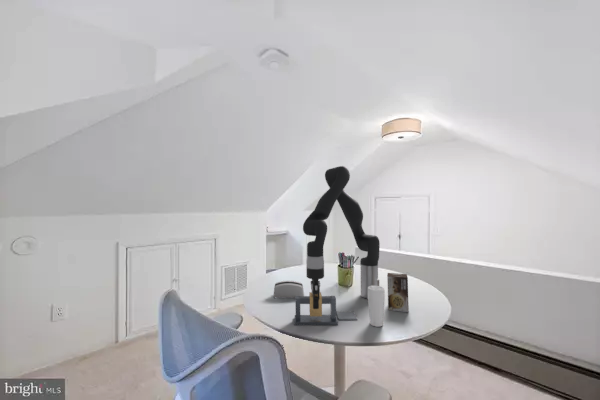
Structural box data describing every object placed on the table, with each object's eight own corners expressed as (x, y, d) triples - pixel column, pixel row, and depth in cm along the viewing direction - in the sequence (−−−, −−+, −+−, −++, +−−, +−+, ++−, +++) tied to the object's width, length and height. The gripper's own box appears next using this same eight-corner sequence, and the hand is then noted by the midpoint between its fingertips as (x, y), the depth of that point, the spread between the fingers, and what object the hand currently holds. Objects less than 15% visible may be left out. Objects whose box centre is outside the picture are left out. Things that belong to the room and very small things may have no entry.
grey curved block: (304, 294, 143) (304, 279, 140) (304, 300, 138) (304, 284, 135) (274, 294, 143) (273, 279, 140) (273, 300, 139) (272, 284, 135)
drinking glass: (365, 321, 109) (365, 285, 110) (381, 320, 110) (380, 285, 110) (371, 328, 102) (370, 290, 103) (387, 327, 103) (387, 290, 103)
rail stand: (335, 317, 113) (335, 294, 113) (337, 325, 106) (337, 300, 106) (294, 317, 113) (294, 294, 113) (294, 325, 106) (294, 300, 106)
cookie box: (407, 307, 124) (407, 273, 124) (408, 312, 118) (408, 277, 118) (387, 305, 127) (387, 272, 127) (387, 310, 121) (387, 275, 121)
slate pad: (353, 312, 118) (353, 311, 118) (357, 320, 110) (357, 318, 110) (336, 312, 118) (336, 311, 118) (338, 320, 110) (338, 318, 110)
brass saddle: (320, 311, 112) (320, 292, 112) (321, 316, 107) (321, 296, 107) (309, 311, 112) (309, 292, 112) (309, 316, 107) (309, 296, 107)
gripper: (325, 270, 103) (325, 312, 102) (322, 262, 117) (322, 299, 117) (306, 270, 103) (307, 312, 102) (306, 262, 117) (306, 299, 117)
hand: (315, 305), depth 109 cm, fingers open, 7 cm apart
